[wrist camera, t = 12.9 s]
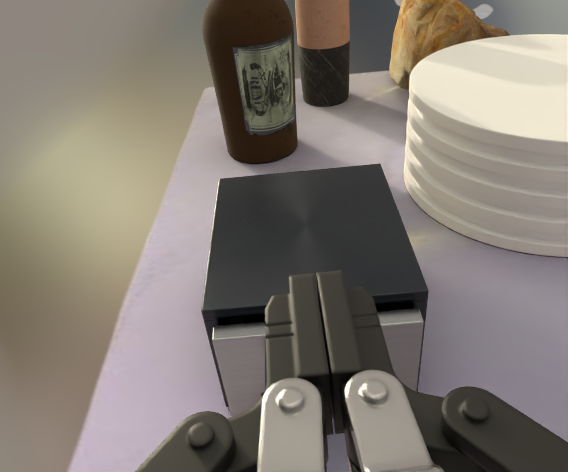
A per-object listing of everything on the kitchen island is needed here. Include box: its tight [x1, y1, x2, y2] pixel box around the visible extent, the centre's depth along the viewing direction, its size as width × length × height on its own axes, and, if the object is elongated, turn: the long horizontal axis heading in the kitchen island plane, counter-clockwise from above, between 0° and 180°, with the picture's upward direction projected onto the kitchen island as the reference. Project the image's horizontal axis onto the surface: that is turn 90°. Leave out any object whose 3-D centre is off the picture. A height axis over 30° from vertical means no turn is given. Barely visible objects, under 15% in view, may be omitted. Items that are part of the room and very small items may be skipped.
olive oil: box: [203, 0, 297, 163], centre depth 62 cm, size 11×11×25 cm
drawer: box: [212, 304, 424, 417], centre depth 37 cm, size 19×13×8 cm, turn 2°
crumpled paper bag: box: [390, 0, 510, 89], centre depth 75 cm, size 23×17×15 cm
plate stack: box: [404, 34, 568, 257], centre depth 54 cm, size 28×28×12 cm
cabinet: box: [201, 164, 428, 407], centre depth 40 cm, size 16×14×10 cm
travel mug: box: [295, 0, 350, 106], centre depth 75 cm, size 8×8×20 cm
